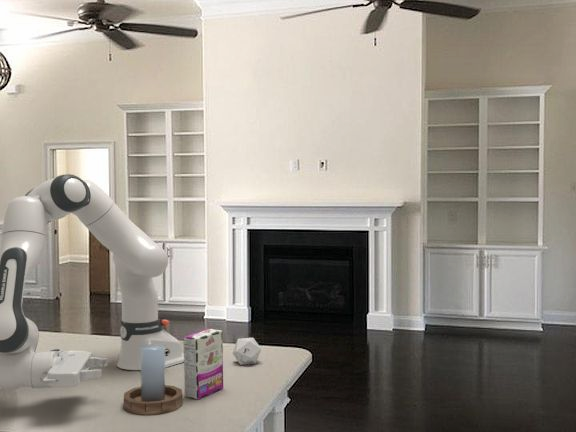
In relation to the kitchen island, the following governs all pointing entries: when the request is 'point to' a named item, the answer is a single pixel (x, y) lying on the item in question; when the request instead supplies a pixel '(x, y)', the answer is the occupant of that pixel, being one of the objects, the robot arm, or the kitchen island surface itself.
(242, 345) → the die
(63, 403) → the kitchen island surface
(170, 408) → the tray
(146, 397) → the pale blue cylinder
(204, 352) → the candy bar box
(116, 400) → the kitchen island surface
